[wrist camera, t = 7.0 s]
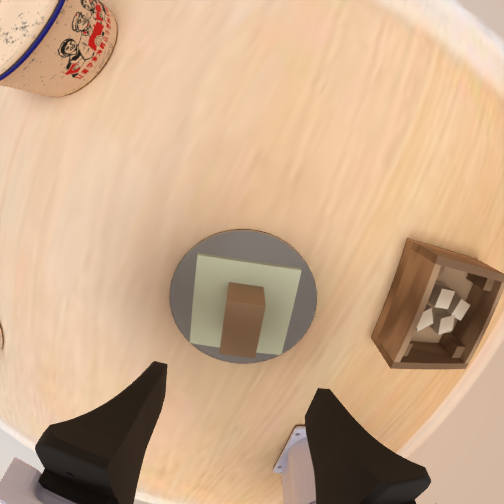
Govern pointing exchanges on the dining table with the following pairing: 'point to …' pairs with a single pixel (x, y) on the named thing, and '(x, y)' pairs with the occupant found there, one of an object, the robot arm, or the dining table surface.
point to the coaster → (247, 248)
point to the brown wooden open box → (436, 309)
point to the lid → (242, 305)
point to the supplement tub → (1, 340)
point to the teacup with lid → (53, 44)
